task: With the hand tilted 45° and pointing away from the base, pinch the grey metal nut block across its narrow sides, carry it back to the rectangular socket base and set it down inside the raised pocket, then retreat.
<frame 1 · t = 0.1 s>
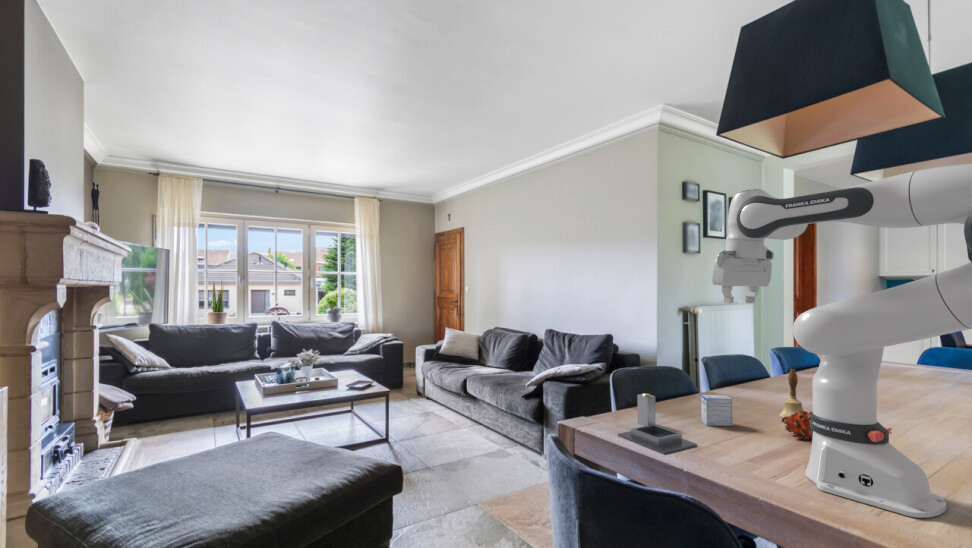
hand: (739, 302, 119), 39 cm above the table, tool pointing down, fingers open, 8 cm apart
hand bell: (793, 418, 147), on the table
rectangular socket base: (656, 440, 123), on the table
nut block: (646, 424, 138), on the table
medicine box: (716, 425, 139), on the table
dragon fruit: (804, 439, 126), on the table
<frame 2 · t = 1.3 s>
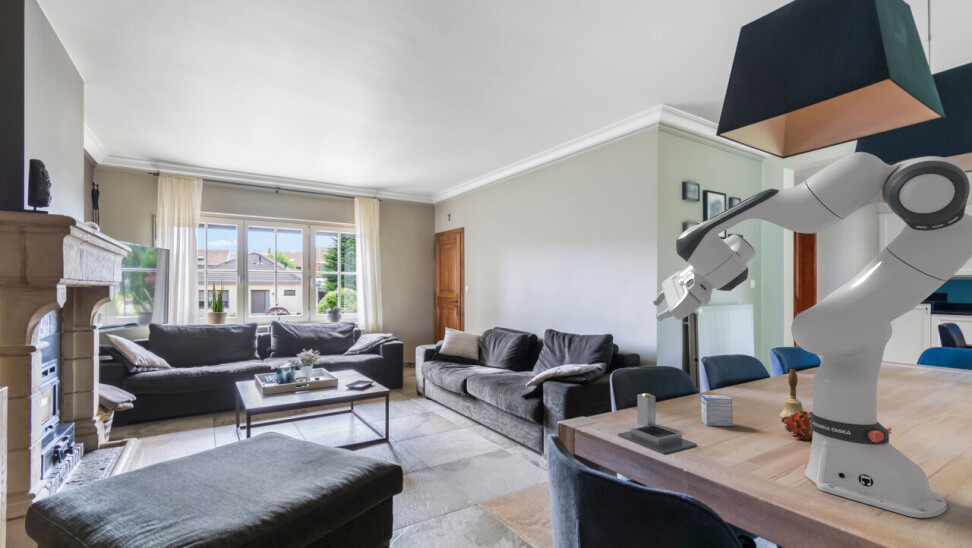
hand: (656, 311, 129), 36 cm above the table, tool tilted 50°, fingers open, 8 cm apart
nothing on the table moved.
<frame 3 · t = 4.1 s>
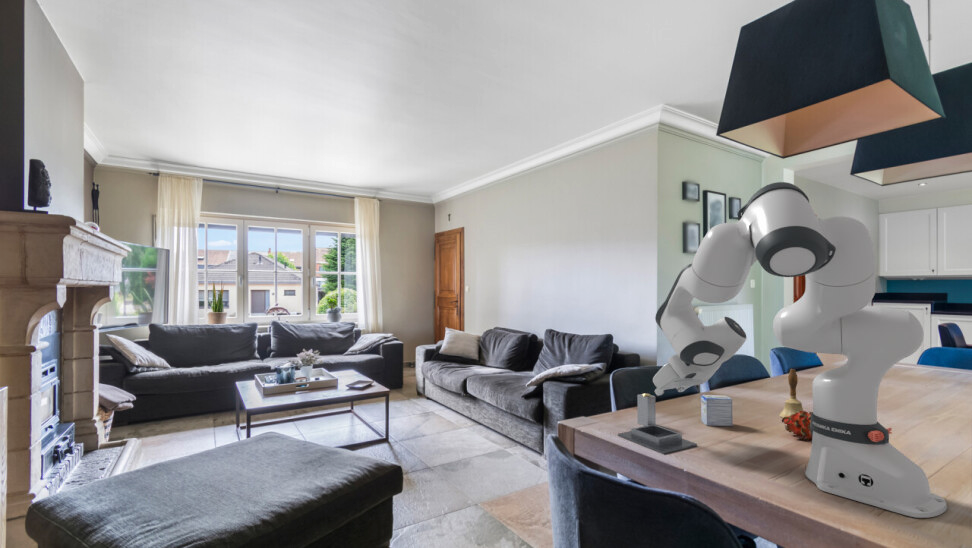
hand: (668, 391, 130), 12 cm above the table, tool tilted 45°, fingers open, 8 cm apart
nothing on the table moved.
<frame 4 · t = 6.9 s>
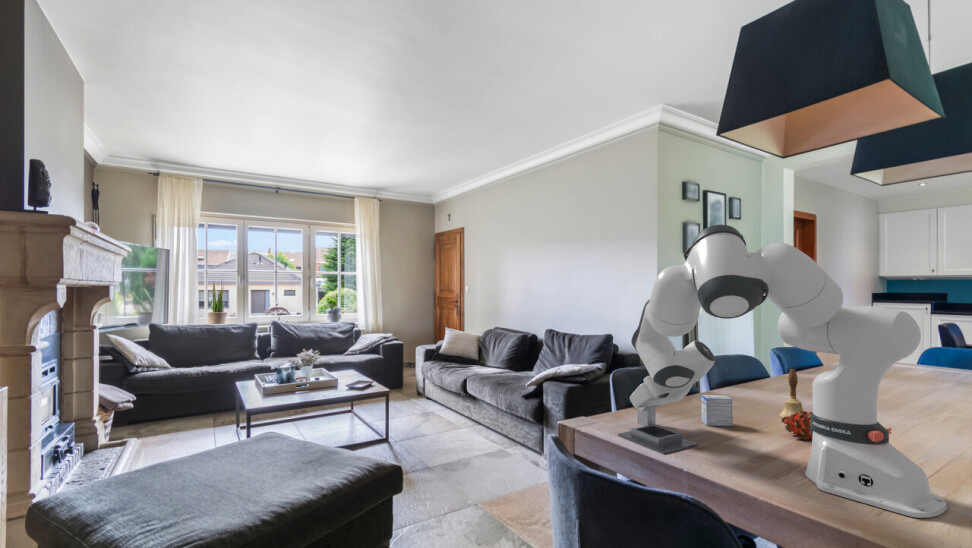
hand: (646, 408, 138), 5 cm above the table, tool tilted 45°, fingers closed on nut block, 3 cm apart
nut block: (646, 424, 138), on the table, touching gripper
everything else where it was.
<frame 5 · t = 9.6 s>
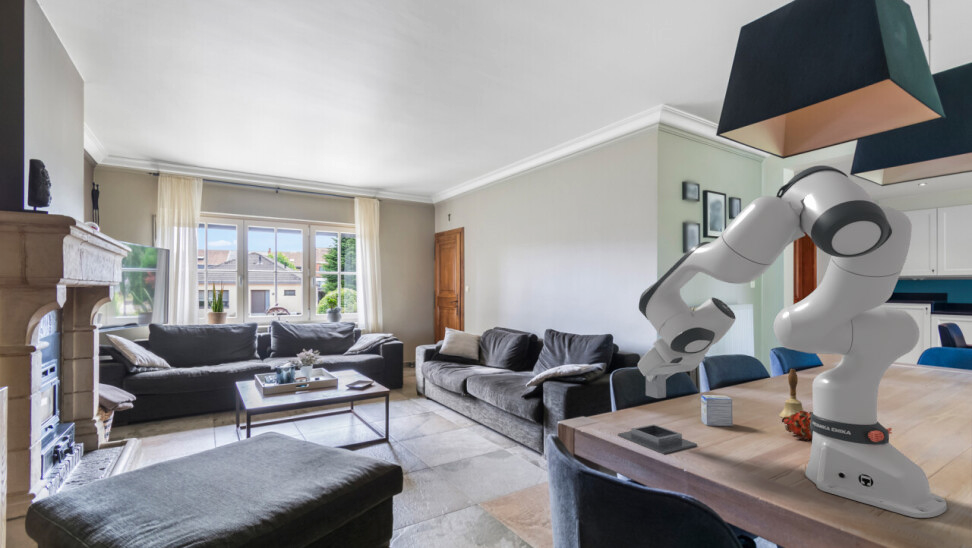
hand: (655, 378, 124), 17 cm above the table, tool tilted 45°, fingers closed on nut block, 3 cm apart
nut block: (655, 396, 124), point 12 cm above the table, touching gripper
everything else where it was.
when the fingers open (6 cm above the table, at t = 12.4 s): nut block stays where it is, resting on rectangular socket base.
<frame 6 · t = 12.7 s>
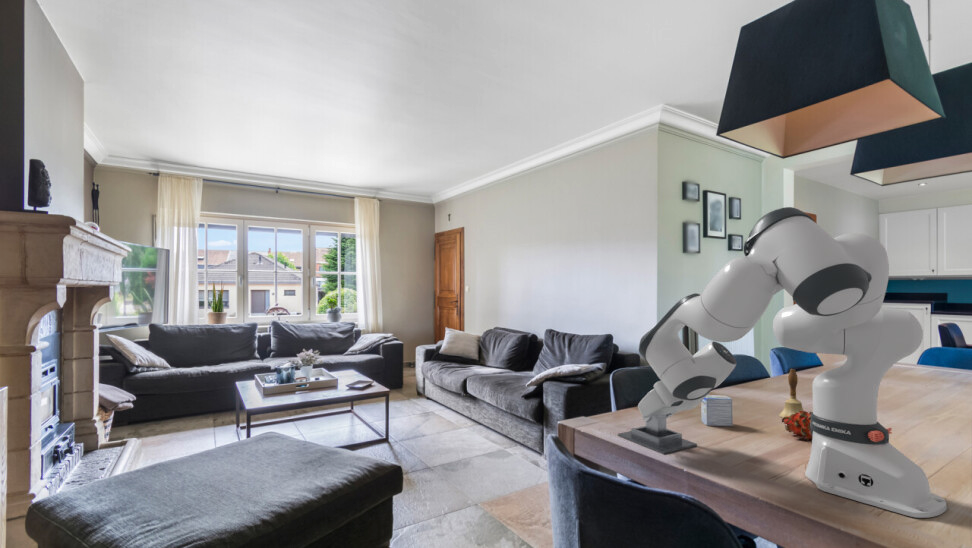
hand: (655, 417, 123), 6 cm above the table, tool tilted 45°, fingers open, 7 cm apart
nut block: (656, 438, 123), point 1 cm above the table, touching rectangular socket base
everything else where it was.
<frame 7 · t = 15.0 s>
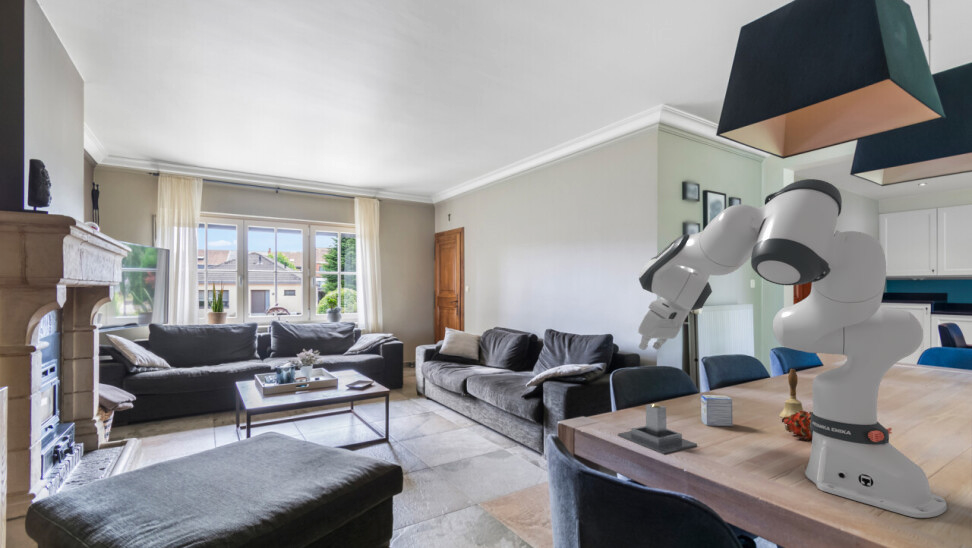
hand: (648, 348, 134), 24 cm above the table, tool tilted 30°, fingers open, 8 cm apart
nothing on the table moved.
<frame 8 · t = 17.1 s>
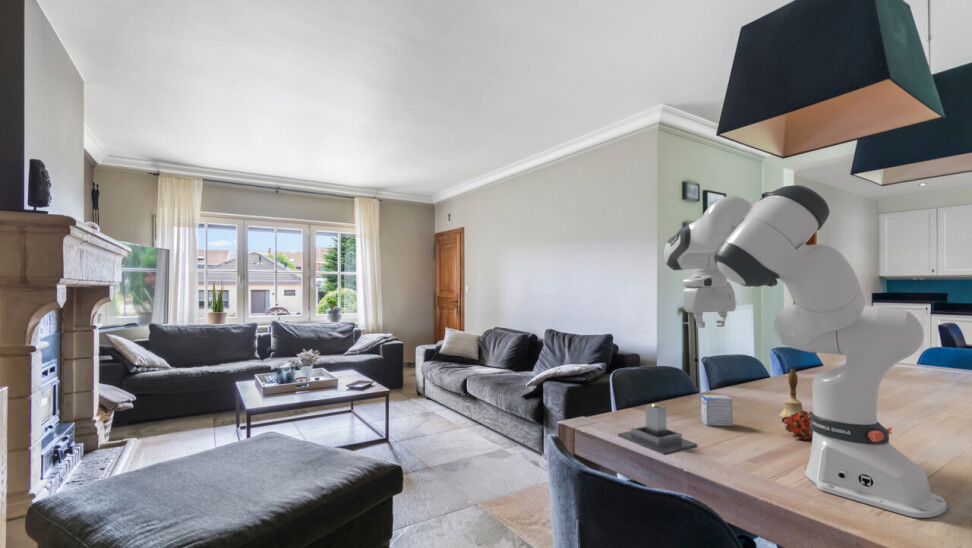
hand: (710, 327, 133), 31 cm above the table, tool pointing down, fingers open, 8 cm apart
nothing on the table moved.
at the end: nut block inside the target area on the rectangular socket base (0.0 cm from its centre), point 0.6 cm above the rectangular socket base's base; nut block tilted 0°; the gripper is holding nothing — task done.
